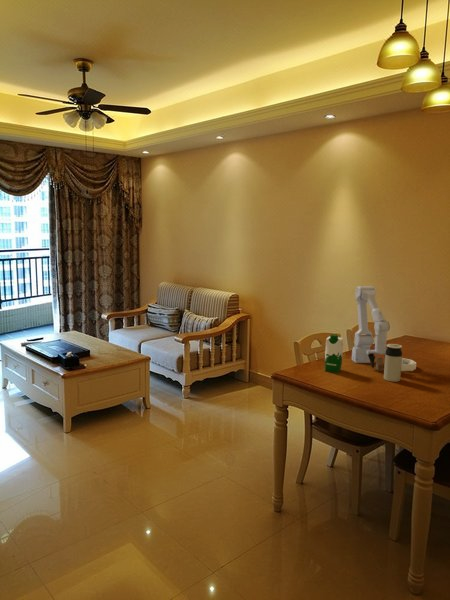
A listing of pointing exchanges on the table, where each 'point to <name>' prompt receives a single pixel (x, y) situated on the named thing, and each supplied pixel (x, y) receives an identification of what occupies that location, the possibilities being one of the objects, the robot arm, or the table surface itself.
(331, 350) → the milk carton
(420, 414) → the table surface
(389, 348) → the travel mug
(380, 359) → the wick
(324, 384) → the table surface
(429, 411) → the table surface
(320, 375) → the table surface
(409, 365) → the white low round dish
